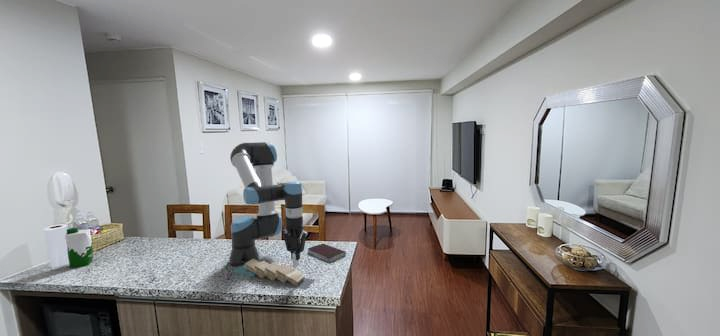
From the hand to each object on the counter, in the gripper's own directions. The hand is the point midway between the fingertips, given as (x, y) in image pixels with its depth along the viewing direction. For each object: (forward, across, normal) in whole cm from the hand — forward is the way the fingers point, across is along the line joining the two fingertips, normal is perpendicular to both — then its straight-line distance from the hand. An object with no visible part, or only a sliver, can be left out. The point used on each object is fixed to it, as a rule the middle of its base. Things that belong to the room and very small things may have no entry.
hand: (295, 266), depth 128 cm
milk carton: (+8, -120, -22) cm, 123 cm away
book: (+9, -2, +33) cm, 35 cm away
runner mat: (+8, -8, 0) cm, 11 cm away
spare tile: (+6, -22, 0) cm, 23 cm away
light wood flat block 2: (+7, -4, 0) cm, 8 cm away
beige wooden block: (+7, -10, 0) cm, 12 cm away
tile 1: (+7, +2, 0) cm, 7 cm away
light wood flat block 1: (+7, -16, 0) cm, 17 cm away
